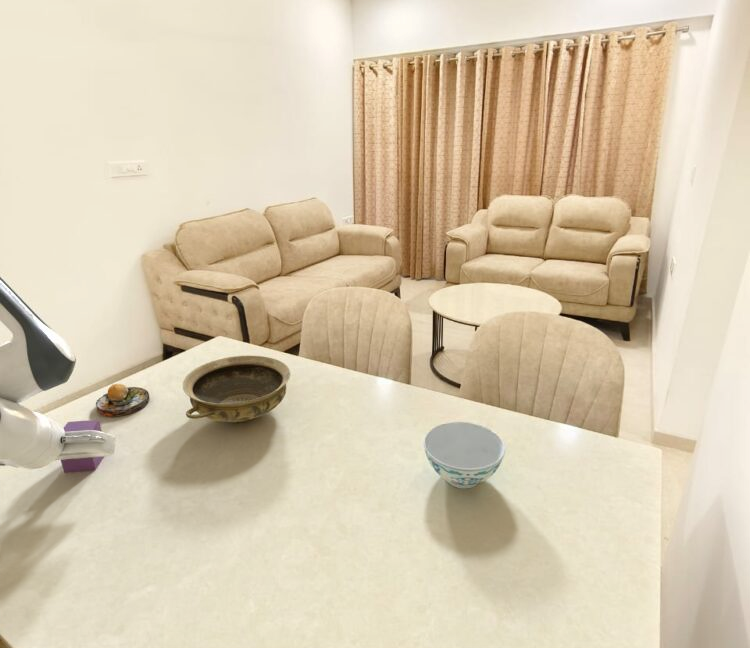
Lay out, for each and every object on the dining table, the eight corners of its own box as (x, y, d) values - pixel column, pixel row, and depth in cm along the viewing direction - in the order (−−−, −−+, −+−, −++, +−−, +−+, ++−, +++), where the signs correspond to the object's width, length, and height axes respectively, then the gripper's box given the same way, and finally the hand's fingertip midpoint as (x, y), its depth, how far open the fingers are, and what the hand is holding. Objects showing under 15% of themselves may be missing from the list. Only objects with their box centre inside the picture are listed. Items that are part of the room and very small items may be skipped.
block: (95, 470, 100) (86, 436, 97) (64, 472, 99) (54, 438, 97) (107, 452, 106) (99, 419, 103) (77, 454, 105) (68, 421, 102)
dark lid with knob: (159, 397, 127) (154, 370, 124) (123, 421, 117) (117, 393, 114) (123, 389, 131) (117, 364, 128) (85, 412, 121) (77, 385, 118)
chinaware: (411, 490, 93) (412, 456, 90) (437, 446, 106) (438, 415, 103) (491, 514, 87) (495, 477, 84) (508, 464, 100) (512, 431, 97)
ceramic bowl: (233, 463, 101) (227, 421, 98) (155, 431, 113) (147, 392, 109) (320, 398, 126) (318, 362, 122) (249, 376, 137) (245, 343, 133)
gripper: (99, 418, 87) (129, 434, 100) (-26, 427, 85) (20, 442, 98) (95, 455, 85) (126, 466, 97) (-35, 465, 83) (14, 476, 95)
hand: (72, 454), depth 98 cm, fingers closed, pressing on block
